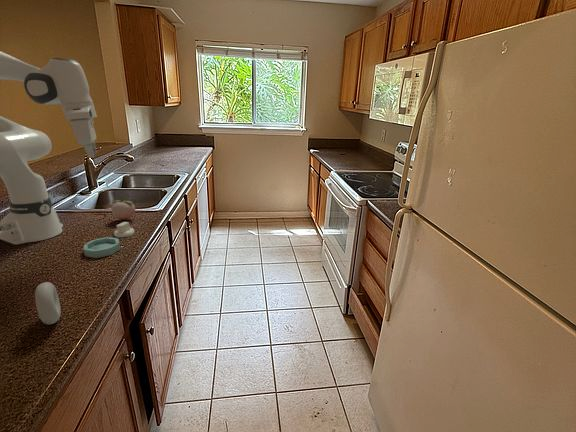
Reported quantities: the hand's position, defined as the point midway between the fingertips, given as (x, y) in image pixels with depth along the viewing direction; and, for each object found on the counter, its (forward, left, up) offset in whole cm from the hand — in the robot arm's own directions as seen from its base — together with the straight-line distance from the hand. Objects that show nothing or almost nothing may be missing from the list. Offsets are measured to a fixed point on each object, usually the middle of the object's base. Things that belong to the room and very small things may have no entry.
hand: (92, 155), depth 107 cm
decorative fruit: (-9, +19, -32) cm, 38 cm away
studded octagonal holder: (+4, -7, -32) cm, 33 cm away
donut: (+21, -41, -32) cm, 56 cm away
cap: (+1, +7, -32) cm, 33 cm away
